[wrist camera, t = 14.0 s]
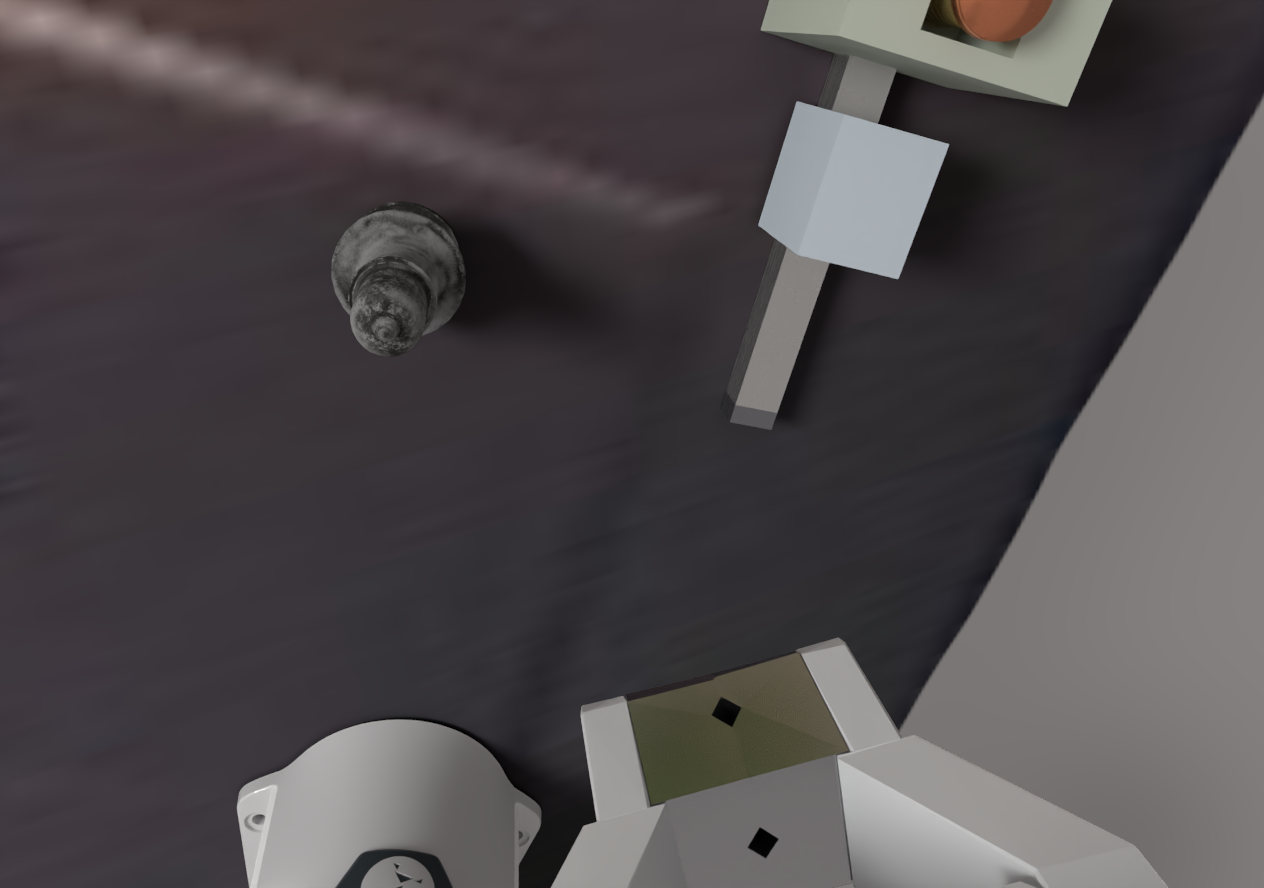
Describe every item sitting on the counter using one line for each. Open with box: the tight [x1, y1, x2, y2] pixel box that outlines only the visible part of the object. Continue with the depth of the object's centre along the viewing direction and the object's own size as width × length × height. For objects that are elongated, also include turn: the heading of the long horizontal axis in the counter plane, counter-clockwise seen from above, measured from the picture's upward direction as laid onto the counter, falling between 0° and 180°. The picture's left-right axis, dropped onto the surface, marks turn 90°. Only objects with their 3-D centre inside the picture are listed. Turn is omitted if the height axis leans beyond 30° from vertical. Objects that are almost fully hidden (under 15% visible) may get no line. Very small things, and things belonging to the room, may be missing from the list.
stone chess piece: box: [331, 202, 466, 357], centre depth 39 cm, size 6×6×12 cm
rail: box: [721, 53, 897, 430], centre depth 46 cm, size 18×2×2 cm, turn 165°
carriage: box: [758, 101, 949, 279], centre depth 42 cm, size 6×5×6 cm
